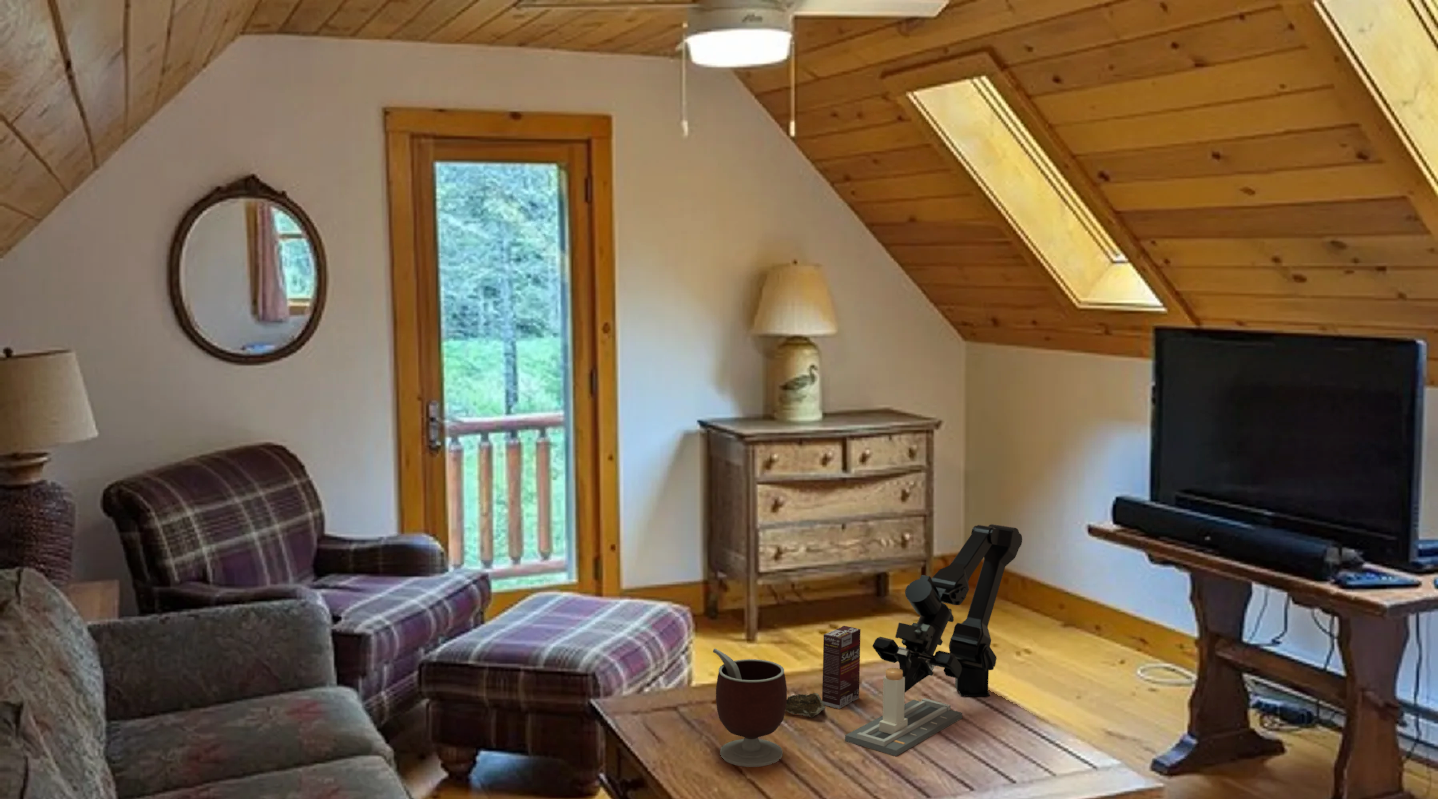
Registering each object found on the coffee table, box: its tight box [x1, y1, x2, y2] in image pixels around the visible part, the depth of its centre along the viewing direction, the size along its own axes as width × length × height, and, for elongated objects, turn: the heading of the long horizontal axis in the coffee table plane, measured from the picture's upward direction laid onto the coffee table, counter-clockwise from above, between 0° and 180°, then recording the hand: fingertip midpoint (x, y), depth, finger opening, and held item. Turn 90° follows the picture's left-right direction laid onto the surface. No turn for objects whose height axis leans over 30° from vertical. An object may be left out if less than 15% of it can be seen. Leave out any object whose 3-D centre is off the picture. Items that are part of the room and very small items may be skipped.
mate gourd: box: [712, 648, 788, 768], centre depth 244 cm, size 16×14×20 cm
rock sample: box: [785, 692, 826, 718], centre depth 266 cm, size 10×8×9 cm
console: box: [844, 698, 963, 757], centre depth 257 cm, size 26×12×2 cm, turn 140°
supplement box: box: [821, 625, 861, 710], centre depth 272 cm, size 9×5×16 cm, turn 143°
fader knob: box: [879, 667, 908, 735], centre depth 253 cm, size 5×4×12 cm
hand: (900, 692), depth 255 cm, fingers closed
